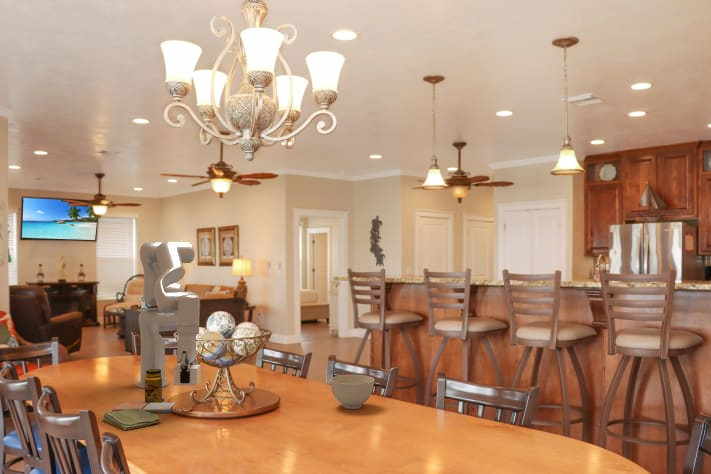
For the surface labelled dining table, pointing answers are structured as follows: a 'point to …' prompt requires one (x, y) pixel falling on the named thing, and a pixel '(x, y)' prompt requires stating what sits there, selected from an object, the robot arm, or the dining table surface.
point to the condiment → (153, 386)
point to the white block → (194, 375)
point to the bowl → (352, 389)
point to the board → (147, 407)
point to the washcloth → (130, 418)
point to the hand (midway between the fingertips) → (187, 380)
